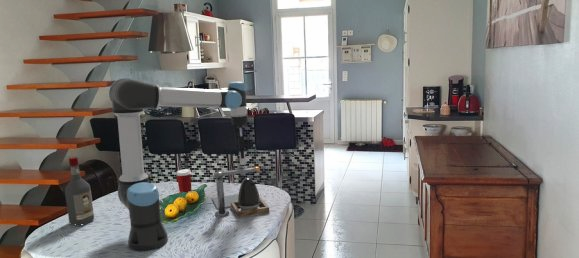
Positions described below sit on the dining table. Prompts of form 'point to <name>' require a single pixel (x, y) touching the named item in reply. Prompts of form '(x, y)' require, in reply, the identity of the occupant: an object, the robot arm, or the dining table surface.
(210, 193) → the dining table surface
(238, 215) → the cradle
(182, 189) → the paper cup
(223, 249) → the dining table surface
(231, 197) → the mat
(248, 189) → the dark grey rounded cone
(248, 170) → the clip
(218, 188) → the post
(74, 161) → the liquor
